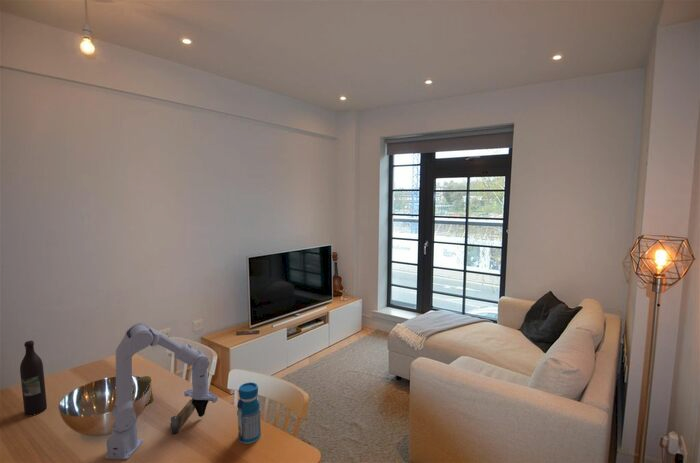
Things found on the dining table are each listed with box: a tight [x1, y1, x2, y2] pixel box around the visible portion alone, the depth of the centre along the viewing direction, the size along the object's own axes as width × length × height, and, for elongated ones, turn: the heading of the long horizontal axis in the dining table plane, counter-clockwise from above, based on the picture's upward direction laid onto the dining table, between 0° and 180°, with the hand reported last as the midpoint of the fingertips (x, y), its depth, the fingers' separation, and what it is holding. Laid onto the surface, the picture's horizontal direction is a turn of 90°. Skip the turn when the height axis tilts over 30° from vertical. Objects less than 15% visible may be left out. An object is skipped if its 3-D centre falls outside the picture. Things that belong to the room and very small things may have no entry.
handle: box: [176, 398, 196, 429], centre depth 146 cm, size 13×2×5 cm, turn 177°
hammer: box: [169, 397, 196, 436], centre depth 148 cm, size 22×4×6 cm, turn 178°
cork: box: [137, 375, 154, 405], centre depth 158 cm, size 6×6×11 cm
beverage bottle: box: [236, 382, 262, 445], centre depth 135 cm, size 8×8×20 cm
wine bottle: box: [19, 340, 48, 416], centre depth 149 cm, size 7×7×30 cm
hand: (201, 415), depth 147 cm, fingers closed
